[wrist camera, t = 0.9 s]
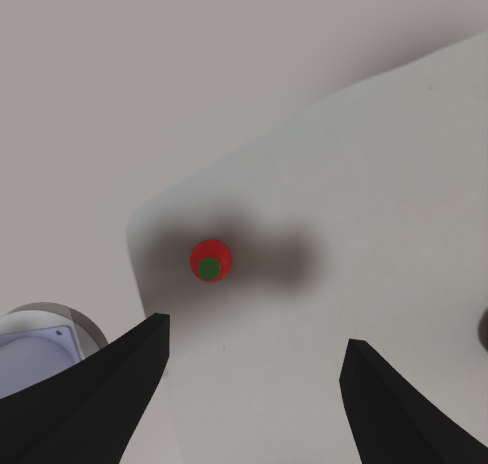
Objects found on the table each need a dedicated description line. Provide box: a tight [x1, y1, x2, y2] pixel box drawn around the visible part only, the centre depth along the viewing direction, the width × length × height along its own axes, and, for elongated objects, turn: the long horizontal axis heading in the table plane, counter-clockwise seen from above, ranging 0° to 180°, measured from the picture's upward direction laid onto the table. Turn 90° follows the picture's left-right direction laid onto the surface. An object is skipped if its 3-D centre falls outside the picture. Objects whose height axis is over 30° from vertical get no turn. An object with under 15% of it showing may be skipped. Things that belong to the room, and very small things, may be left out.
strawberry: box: [190, 240, 232, 282], centre depth 20 cm, size 3×3×4 cm
